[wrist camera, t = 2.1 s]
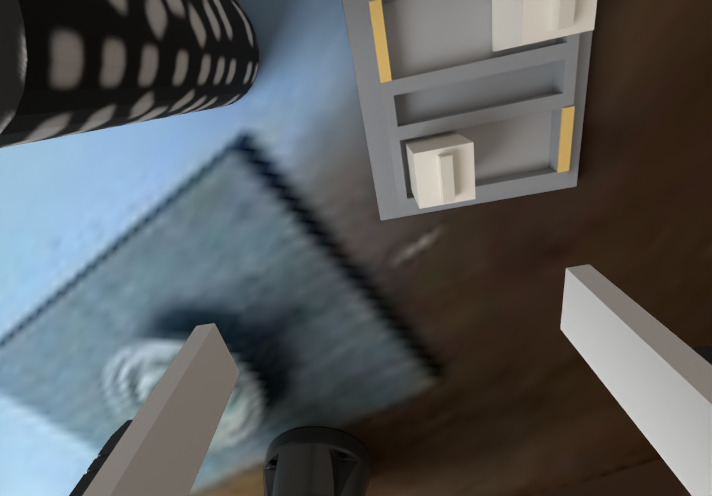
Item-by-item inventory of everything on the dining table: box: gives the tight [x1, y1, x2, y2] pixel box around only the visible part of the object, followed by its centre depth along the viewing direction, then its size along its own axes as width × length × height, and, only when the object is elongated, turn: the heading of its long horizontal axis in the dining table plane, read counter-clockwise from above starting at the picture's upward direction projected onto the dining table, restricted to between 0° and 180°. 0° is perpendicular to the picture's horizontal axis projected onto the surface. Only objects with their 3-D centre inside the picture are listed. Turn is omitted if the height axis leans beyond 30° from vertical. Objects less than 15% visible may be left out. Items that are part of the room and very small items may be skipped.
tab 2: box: [492, 0, 597, 52], centre depth 20 cm, size 4×4×6 cm
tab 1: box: [405, 132, 475, 209], centre depth 25 cm, size 4×4×6 cm
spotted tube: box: [0, 0, 259, 148], centre depth 16 cm, size 8×8×20 cm
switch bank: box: [342, 0, 593, 220], centre depth 25 cm, size 17×18×3 cm
